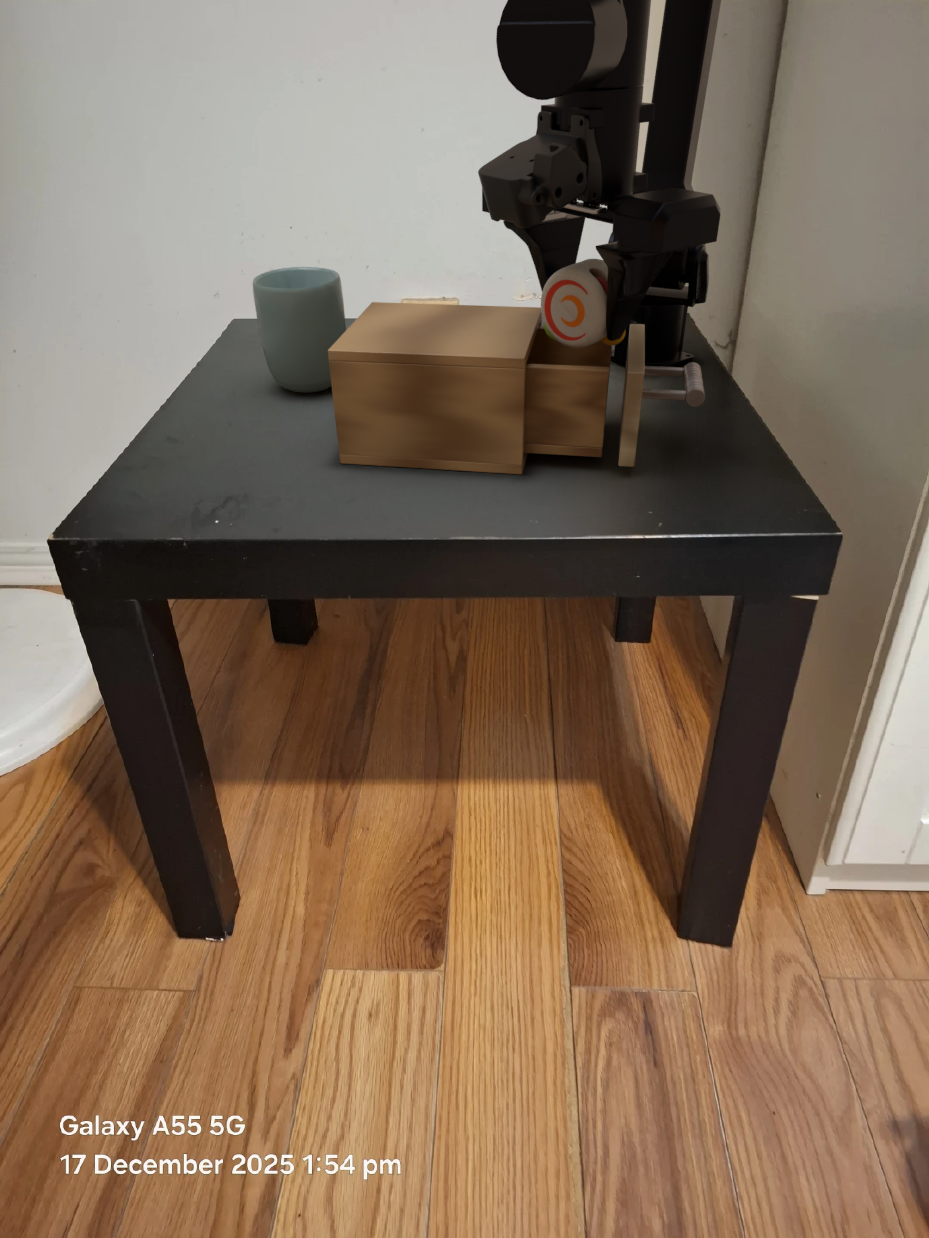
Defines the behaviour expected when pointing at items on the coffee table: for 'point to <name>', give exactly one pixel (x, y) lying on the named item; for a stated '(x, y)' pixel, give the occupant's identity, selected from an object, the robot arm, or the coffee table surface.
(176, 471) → the coffee table surface
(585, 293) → the roller toy
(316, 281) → the cup
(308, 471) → the coffee table surface
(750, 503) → the coffee table surface
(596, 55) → the robot arm
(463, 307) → the cabinet
